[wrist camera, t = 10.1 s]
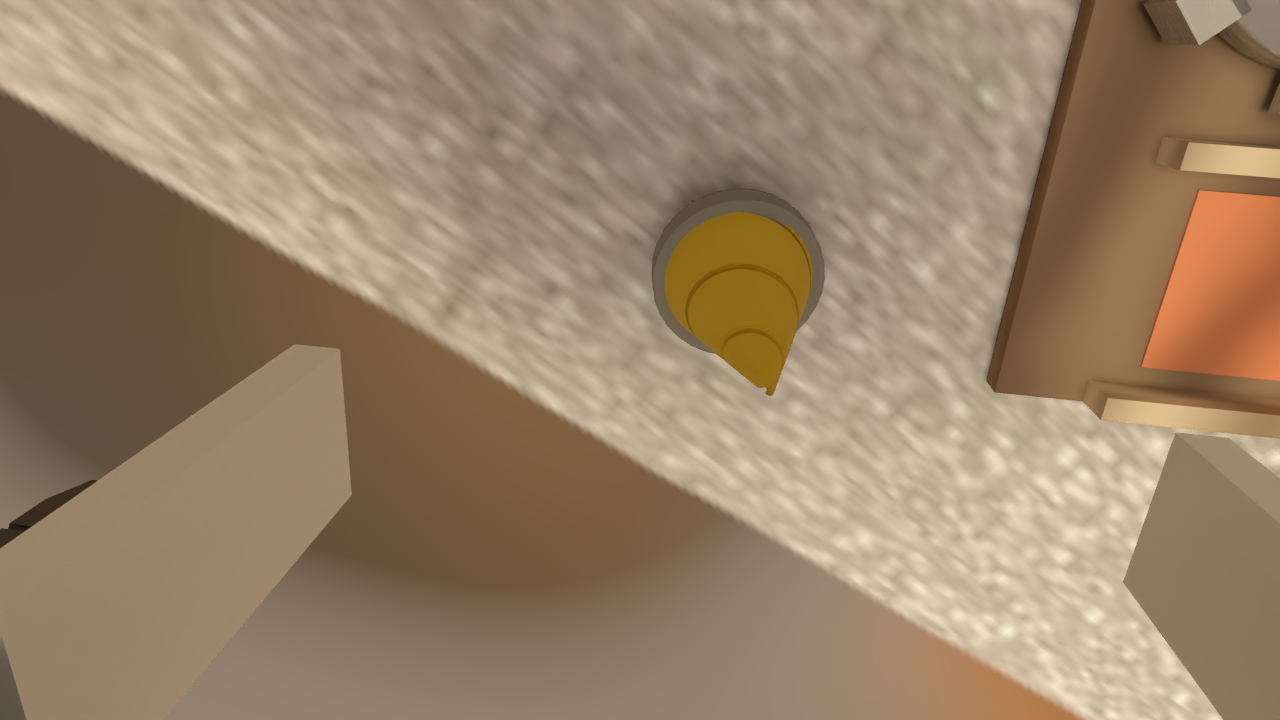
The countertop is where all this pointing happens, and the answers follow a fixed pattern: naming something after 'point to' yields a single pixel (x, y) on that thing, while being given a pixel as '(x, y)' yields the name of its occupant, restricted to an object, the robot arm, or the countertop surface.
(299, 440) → the robot arm
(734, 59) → the countertop surface
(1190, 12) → the sprocket
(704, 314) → the drill bit
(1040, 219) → the brown wooden board
